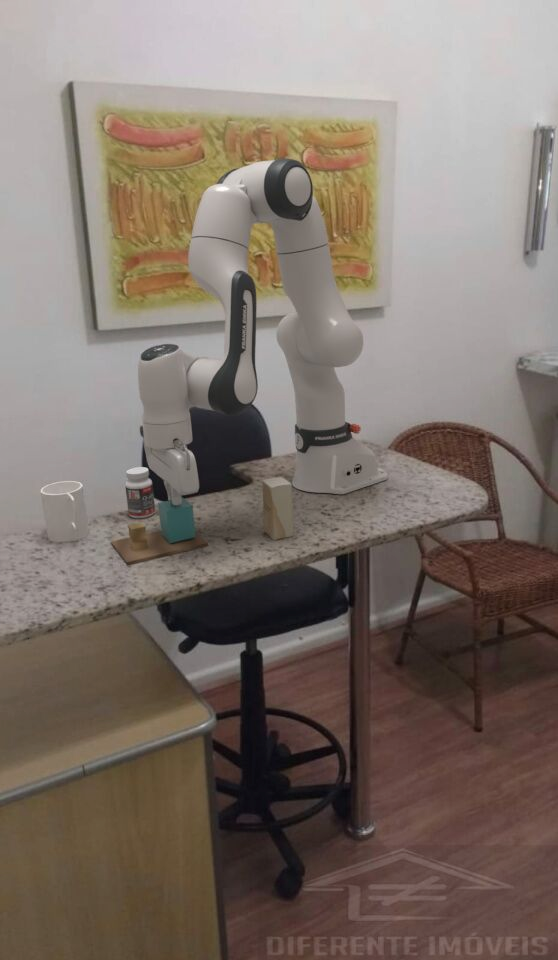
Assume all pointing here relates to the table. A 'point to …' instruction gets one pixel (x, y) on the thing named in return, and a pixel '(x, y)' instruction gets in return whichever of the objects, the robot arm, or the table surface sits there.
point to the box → (277, 507)
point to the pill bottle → (139, 493)
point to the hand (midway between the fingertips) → (175, 502)
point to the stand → (152, 545)
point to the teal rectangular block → (176, 521)
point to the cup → (65, 511)
